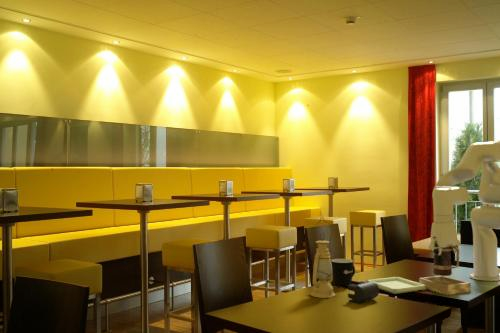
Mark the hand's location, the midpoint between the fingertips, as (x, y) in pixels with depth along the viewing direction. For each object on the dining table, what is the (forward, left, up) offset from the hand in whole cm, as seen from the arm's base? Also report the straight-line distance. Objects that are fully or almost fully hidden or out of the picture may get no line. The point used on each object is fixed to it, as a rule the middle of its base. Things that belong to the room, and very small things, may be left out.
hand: (445, 263), depth 201 cm
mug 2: (0, 0, -5) cm, 5 cm away
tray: (+16, -11, -10) cm, 22 cm away
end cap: (+41, +2, -11) cm, 43 cm away
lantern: (+50, -12, -10) cm, 53 cm away
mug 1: (+32, -24, -10) cm, 41 cm away
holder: (+1, 0, -10) cm, 10 cm away
